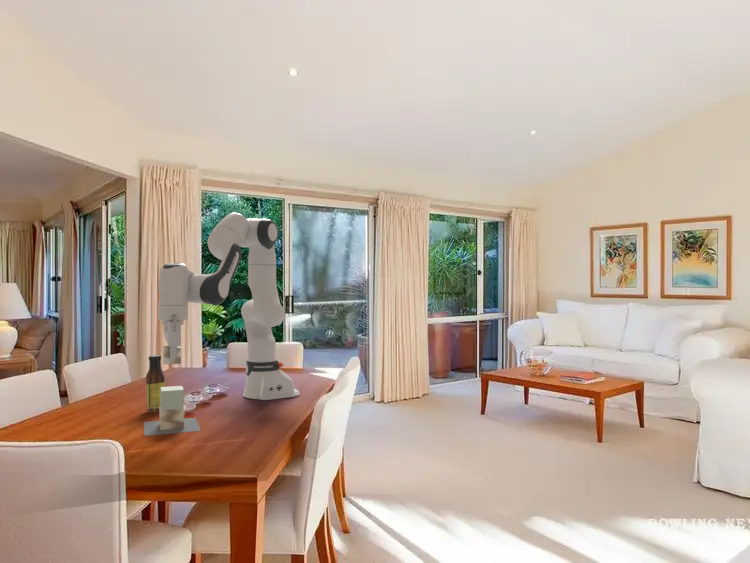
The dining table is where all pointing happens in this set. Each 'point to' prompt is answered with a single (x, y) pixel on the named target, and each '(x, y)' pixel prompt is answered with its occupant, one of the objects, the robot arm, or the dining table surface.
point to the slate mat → (154, 429)
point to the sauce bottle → (154, 384)
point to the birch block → (171, 419)
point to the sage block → (172, 398)
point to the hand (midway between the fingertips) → (172, 357)
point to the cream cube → (167, 356)
